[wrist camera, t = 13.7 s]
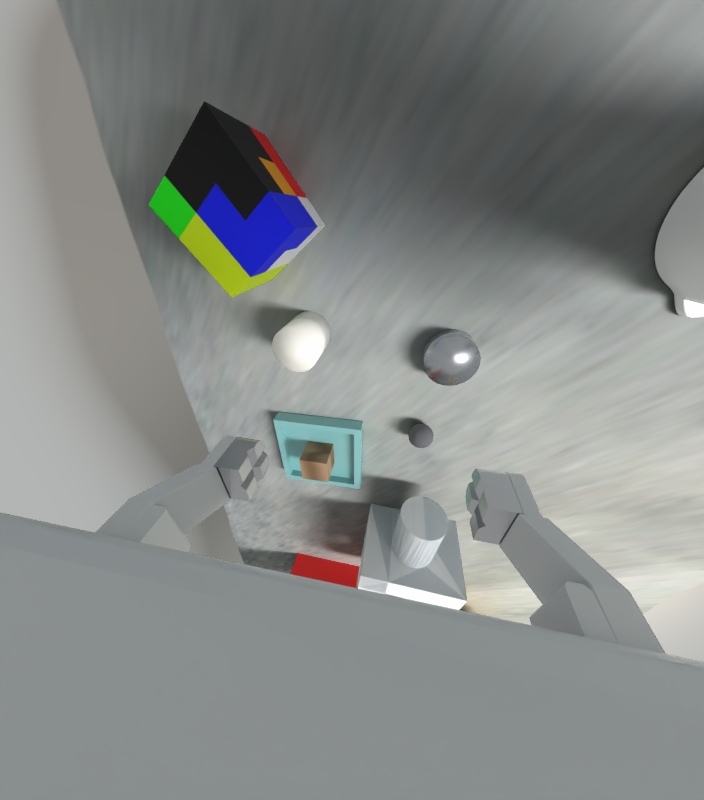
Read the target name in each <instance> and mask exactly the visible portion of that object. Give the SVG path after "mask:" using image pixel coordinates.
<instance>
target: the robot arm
mask: <svg viewBox="0 0 704 800" xmlns="http://www.w3.org/2000/svg"><path fill="white" fill-rule="evenodd" d="M655 264H656V268H657V271H658V273H659V275H660V277H661V279H662V280H663V281H664V282H665V283H666V284H667V285H668V286H669V287H670V288H671V290H672V291H673V293H674V299H675V309H676V312H677V313H678V315H680V316H684V317H688V318H698V317H704V168H703V169H702V170H701V171H700V172H699V173H698V174H697V175H696V176H695V177H694V178H693V179H692V180H691V181H690V183H689V184H688V185H687V186H686V187H685V189H684V190H683V191H682V192H681V194H680V195H679V197H678V198H677V199H676V201H675V202H674V204H673V205H672V207H671V209H670V210H669V212H668V214H667V216H666V218H665V220H664V222H663V224H662V226H661V229H660V232H659V234H658V238H657V242H656V247H655ZM264 449H265V445H264V442H263V441H260V440H254V439H248V438H242V437H234V436H226V437H224V438H223V439H222V440H221V441H220V442H219V443H218V444H217V446H216V447H215V448H214V449H213V450H212V451H211V453H210V454H209V455H208V456H207V457H206V458H205V460H204V461H203V462H202V463H201V464H200V465H198V464H196V465H195V466H192V467H190V468H189V469H186V470H185V471H183V472H181V473H179V474H177V475H175V476H173V477H171V478H169V479H167V480H165V481H163V482H161V483H159V484H157V485H155V486H153V487H151V488H149V489H147V490H146V491H143V492H142V493H140V494H138V495H136V496H134V497H132V498H130V499H129V500H128V501H127V502H125V504H124V505H123V506H122V507H120V509H119V510H118V511H116V512H115V513H114V514H113V515H112V516H111V517H110V518H109V519H108V520H107V521H106V522H105V523H104V524H103V525H102V526H101V527H100V529H98V530H97V531H96V532H95V533H94V532H89V531H85V530H80V529H75V528H70V527H66V526H61V525H56V524H51V523H47V522H42V521H37V520H33V519H28V518H23V517H19V516H14V515H10V514H4V513H0V800H704V662H701V661H697V660H692V659H687V658H682V657H678V656H673V655H668V654H666V653H665V652H664V650H663V648H662V647H661V645H660V643H659V641H658V640H657V638H656V636H655V635H654V633H653V631H652V630H651V628H650V626H649V624H648V623H647V621H646V619H645V617H644V616H643V614H642V612H641V610H640V609H639V607H638V605H637V604H636V602H635V600H634V598H633V597H632V595H631V593H630V592H629V591H628V590H627V589H626V588H625V587H624V586H623V585H622V584H620V583H619V582H618V581H617V580H616V579H615V578H614V577H613V576H611V575H610V574H609V573H608V572H607V571H606V570H605V569H604V568H603V567H601V566H600V565H599V564H598V563H597V562H596V561H595V560H594V559H592V558H591V557H590V556H589V555H588V554H587V553H586V552H585V551H584V550H582V549H581V548H580V547H579V546H578V545H577V544H576V543H575V542H573V541H572V540H571V539H570V538H569V537H568V536H567V535H566V534H565V533H563V532H562V531H561V530H560V529H559V528H558V527H557V526H556V525H554V524H553V523H552V522H551V521H550V520H549V519H548V518H543V517H542V515H541V513H540V511H539V508H538V506H537V504H536V502H535V499H534V497H533V495H532V493H531V490H530V488H529V486H528V484H527V481H526V479H525V477H524V476H523V475H521V474H513V473H505V472H497V471H489V470H481V469H475V470H474V472H473V474H472V479H473V482H471V483H469V484H468V487H467V491H466V504H467V510H468V511H469V512H470V513H471V514H472V517H471V519H470V526H471V531H472V536H473V540H478V541H483V542H488V543H493V544H498V545H500V548H501V549H502V550H503V552H504V553H505V554H506V556H507V557H508V558H509V560H510V561H511V562H512V564H513V565H514V566H515V568H516V569H517V570H518V572H519V573H520V574H521V576H522V577H523V579H524V580H525V581H526V583H527V584H528V585H529V587H530V588H531V589H532V591H533V592H534V593H535V595H536V596H537V597H538V599H539V600H540V601H541V603H542V604H543V605H542V606H541V607H540V608H538V609H537V610H536V611H535V612H534V613H533V614H532V615H531V617H530V621H531V625H527V624H523V623H518V622H513V621H508V620H504V619H499V618H494V617H490V616H485V615H480V614H475V613H471V612H466V611H461V610H457V609H452V608H447V607H443V606H438V605H433V604H428V603H424V602H419V601H414V600H410V599H405V598H400V597H396V596H391V595H386V594H381V593H377V592H372V591H367V590H363V589H358V588H353V587H349V586H344V585H339V584H334V583H330V582H325V581H320V580H316V579H311V578H306V577H302V576H297V575H292V574H287V573H283V572H278V571H273V570H269V569H264V568H259V567H254V566H250V565H245V564H240V563H236V562H230V561H226V560H221V559H217V558H212V557H207V556H203V555H198V554H193V553H188V551H189V550H190V548H191V544H190V542H189V541H188V539H187V538H186V536H185V534H186V533H187V532H189V531H190V530H191V529H193V528H194V527H195V526H196V525H198V524H199V523H200V522H202V521H203V520H204V519H205V518H207V517H208V516H209V515H211V514H212V513H213V512H215V511H216V510H217V509H218V508H220V507H221V506H222V505H224V504H225V503H226V502H227V501H229V500H230V498H231V499H238V500H245V501H250V500H251V499H252V497H253V495H254V493H255V492H256V490H257V488H258V484H257V482H258V481H259V480H261V479H262V478H264V476H265V474H266V472H267V468H268V456H267V454H266V453H265V452H263V450H264Z"/></svg>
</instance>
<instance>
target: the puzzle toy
mask: <svg viewBox="0 0 704 800" xmlns="http://www.w3.org/2000/svg"><path fill="white" fill-rule="evenodd" d="M149 206H150V207H151V208H152V210H153V211H154V212H155V213H156V214H157V215H158V216H159V217H160V218H161V220H162V221H163V222H164V223H165V224H166V225H167V226H168V227H169V228H170V230H171V231H172V232H173V233H174V234H175V235H176V236H177V237H178V238H179V240H180V241H181V242H182V243H183V244H184V245H185V246H186V247H187V248H188V250H189V251H190V252H191V253H192V254H193V255H194V256H195V257H196V258H197V260H198V261H199V262H200V263H201V264H202V265H203V266H204V267H205V268H206V270H207V271H208V272H209V273H210V274H211V275H212V276H213V277H214V278H215V280H216V281H217V282H218V283H219V284H220V285H221V286H222V287H223V288H224V290H225V291H226V292H227V293H228V294H229V295H230V296H231V297H234V296H237V295H239V294H241V293H243V292H245V291H248V290H250V289H252V288H254V287H257V286H259V285H261V284H263V283H266V282H268V281H270V280H272V279H273V278H274V277H275V276H276V275H277V274H278V273H279V272H280V271H281V270H282V269H283V268H284V267H285V266H286V265H287V264H288V263H289V262H290V261H291V260H292V259H293V258H294V257H295V256H296V255H297V254H298V253H299V252H300V251H301V250H302V249H303V248H304V247H305V246H306V245H307V244H308V243H309V242H310V241H311V240H312V239H313V238H314V237H315V236H316V235H317V234H318V233H319V232H320V231H321V230H322V229H323V228H324V227H325V224H324V223H323V221H322V220H321V218H320V217H319V215H318V214H317V212H316V211H315V209H314V208H313V206H312V205H311V203H310V202H309V200H308V199H307V197H306V196H305V194H304V193H303V191H302V190H301V188H300V187H299V185H298V184H297V182H296V181H295V179H294V178H293V176H292V175H291V173H290V172H289V171H288V169H287V168H286V166H285V165H284V163H283V162H282V160H281V159H280V157H279V156H278V154H277V153H276V151H275V150H274V148H273V147H272V145H271V144H270V142H269V141H268V139H267V138H266V136H265V135H264V134H262V133H260V132H258V131H256V130H255V129H253V128H251V127H249V126H248V125H246V124H244V123H242V122H240V121H239V120H237V119H235V118H233V117H231V116H230V115H228V114H226V113H224V112H222V111H221V110H219V109H217V108H215V107H213V106H212V105H210V104H208V103H206V102H204V103H203V105H202V107H201V108H200V110H199V112H198V114H197V116H196V118H195V120H194V121H193V123H192V125H191V127H190V129H189V131H188V133H187V134H186V136H185V138H184V140H183V142H182V144H181V146H180V147H179V149H178V151H177V153H176V155H175V157H174V159H173V160H172V162H171V164H170V166H169V168H168V170H167V172H166V173H165V175H164V177H163V179H162V181H161V183H160V185H159V186H158V188H157V190H156V192H155V194H154V196H153V197H152V199H151V201H150V203H149Z"/></svg>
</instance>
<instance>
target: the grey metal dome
mask: <svg viewBox="0 0 704 800" xmlns="http://www.w3.org/2000/svg"><path fill="white" fill-rule="evenodd" d="M423 356H424V368H425V371H426V373H427V375H428V376H429V378H430V379H431V380H433V381H434V382H436V383H438V384H441V385H457V384H461V383H463V382H465V381H467V380H468V379H470V378H471V377H472V376H473V375H474V374H475V373H476V371H477V370H478V368H479V365H480V353H479V350H478V348H477V346H476V344H475V342H474V340H473V339H472V337H471V336H470V335H468V334H467V333H465V332H463V331H460V330H445V331H442V332H440V333H438V334H436V335H435V336H433V337H432V338H431V339H430V340H429V341H428V343H427V344H426V346H425V349H424V354H423Z"/></svg>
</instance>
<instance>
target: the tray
mask: <svg viewBox="0 0 704 800" xmlns="http://www.w3.org/2000/svg"><path fill="white" fill-rule="evenodd" d="M273 422H274V426H275V430H276V435H277V439H278V444H279V448H280V452H281V457H282V461H283V466H284V470H285V475H286V478H290V479H296V480H303V481H309V482H316V483H322V484H329V485H335V486H342V487H348V488H355V489H360V486H361V481H362V445H363V421H354V420H345V419H337V418H328V417H319V416H310V415H301V414H292V413H284V412H278V413H277V415H276V416H275V418H274V419H273ZM308 441H314V442H322V443H330V444H333V446H334V461H335V462H334V465H333V469H332V472H331V475H330V478H329V481H328V482H323V481H316V480H310V479H303V478H302V473H301V467H300V461H299V460H300V457H301V455H302V453H303V451H304V449H305V447H306V444H307V442H308Z"/></svg>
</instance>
